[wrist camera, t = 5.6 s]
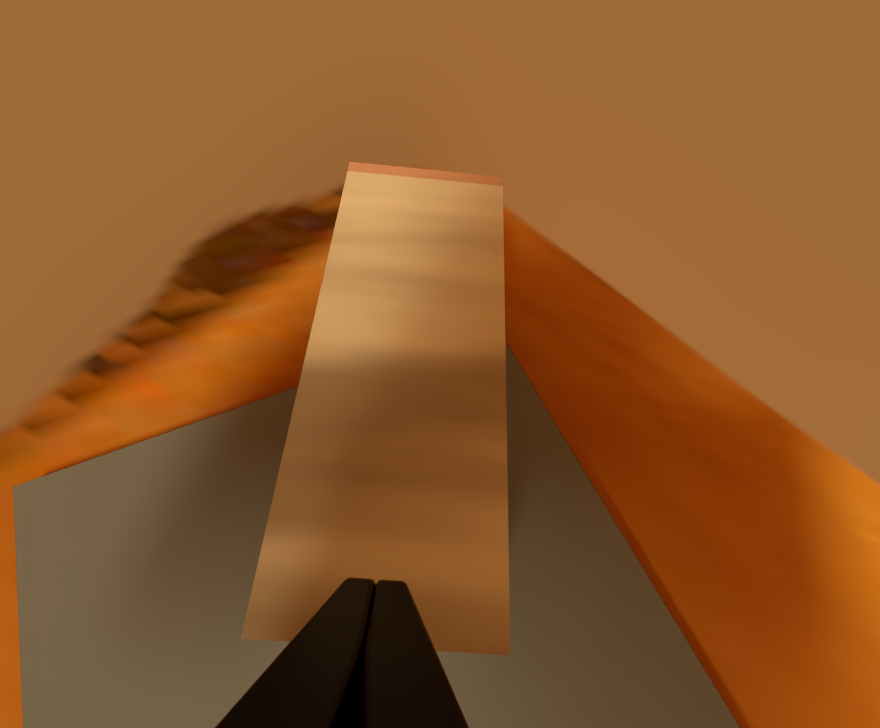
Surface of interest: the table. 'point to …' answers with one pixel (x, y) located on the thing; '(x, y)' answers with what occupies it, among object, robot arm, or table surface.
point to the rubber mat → (244, 660)
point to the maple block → (400, 416)
